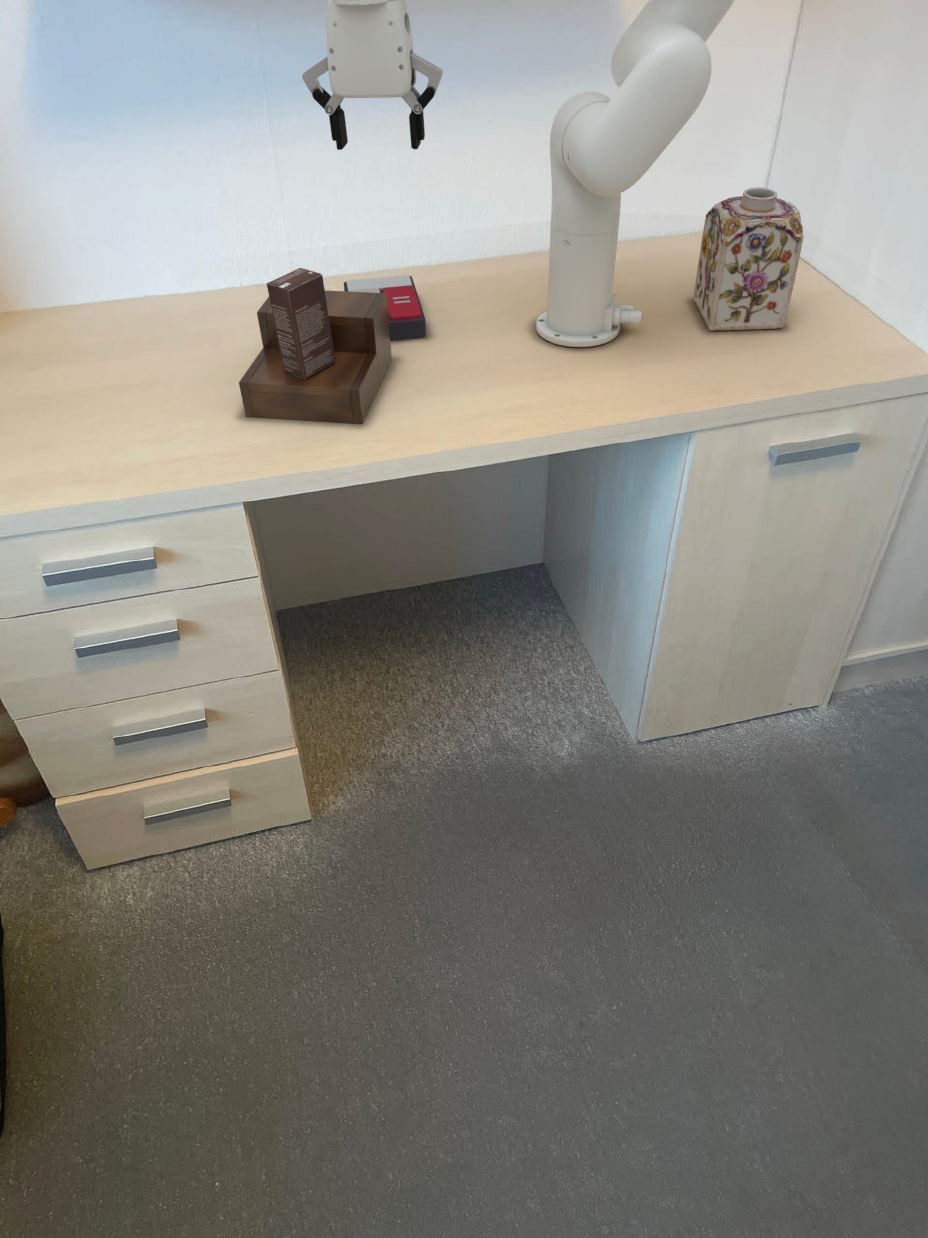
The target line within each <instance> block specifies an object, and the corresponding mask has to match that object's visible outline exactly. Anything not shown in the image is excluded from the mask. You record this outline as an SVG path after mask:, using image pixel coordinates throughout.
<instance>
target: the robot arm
mask: <svg viewBox="0 0 928 1238" xmlns="http://www.w3.org/2000/svg"><path fill="white" fill-rule="evenodd" d="M734 2H735V0H648V1H647V3H646V4H645V5H644V6H643V8H642V9H641V10H640V12H639V13H638V15H636V17H635V19H634V20H633V21H632V22H631V24H630V25H629V26H628V28H627V29H626V30H625V31H624V33H623V34H622V35H621V37H620V38H619V40H618V42H617V44H616V46H615V47H614V49H613V52H612V56H611V60H610V70H611V75H612V79H613V82H614V83H615V85H616V86H617V88H618V89H617V90H616V92H614V94H613V96H612V97H611V98H610V97H609V96H607V95H605V94H603V93H601V92H597V91H583V92H579V93H576V94H574V95H572V96H571V97H569V98H568V99H567V100H566V101H564V102H563V104H561V105H560V107H559V109H558V110H557V112H556V114H555V116H554V118H553V121H552V124H551V129H550V135H549V160H550V161H549V162H550V175H551V211H550V227H549V228H550V229H549V230H550V231H549V252H548V253H549V254H548V275H547V276H548V278H547V302H546V303H547V304H546V310H545V311H543V312H542V313H541V314H539V316H538V317H537V318H536V321H535V329H536V332H537V334H538V335H539V336H540V337H541V338H542V339H544V340H545V341H547V342H549V343H552V344H555V345H559V346H564V347H569V348H570V347H571V348H590V347H595V346H601V345H604V344H607V343H608V342H611V341H613V340H614V339H615V338H616V337H617V336H618V335H619V333H620V329H621V324H628V325H641V323H642V316H643V315H642V314H643V313H642V312H643V311H642V310H634V308H635V305H632V304H631V305H630V304H625V305H622V304H619V303H618V302H615V296H616V295H615V294H614V293H613V292H614V281H615V271H616V270H615V269H616V260H617V250H618V249H617V248H618V236H619V226H620V218H621V204H622V193H624V192H626V191H627V190H628V189H630V188H632V187H633V186H634V185H636V184H637V182H638V181H640V180H641V179H642V177H643V176H644V175H645V174H646V173H647V172H648V171H649V170H650V168H651V167H652V166H653V165H654V163H655V162H656V161H657V159H658V158H659V157H660V156H662V153H664V151H665V150H666V148H667V147H668V146H669V145H670V144H671V142H672V141H673V140H674V139H675V138H676V136H677V135H678V134H679V132H681V130H682V129H683V128H684V126H686V124H687V123H688V122H689V120H690V119H691V118H692V117H693V115H694V114H695V113H696V111H697V110H698V108H699V106H700V105H701V103H702V101H703V99H704V97H705V95H706V92H707V90H708V88H709V85H710V82H711V76H712V57H711V53H710V49H709V48H708V46H707V43H706V42H707V41H708V40H709V38H710V37H711V36H712V35H713V32H714V31H715V30H716V29H717V27H718V25H719V24H720V23H721V22H722V20H723V19H724V17H725V15H727V13H728V11H729V10H730V9H731V7H732V5H733V4H734ZM325 22H326V30H325V31H326V54H327V56H326V57H324V58H323V59H321V60H320V61H318V62H317V63H316V64H314V65H312V66H311V67H310V68H308V69H307V70H305V72H303V73H302V75H301V78H302V80H303V82H304V84H305V85H306V87H307V88H308V90H309V92H310V93H311V97H312V98H313V100H314V101H315V102H316V103H317V104H318V105H319V106H320V107H321V108H322V109H324V112H325V114H326V115H327V116H328V118H329V126H330V134H331V140H332V141H333V142H335V146H336V150H337V151H342V150H343V149H344V148H345V147H346V146H347V144H348V143H349V141H348V140H349V139H348V131H347V123H346V114H345V110H344V109H343V108H342V107H341V104H342V103H343V101H344V99H381V98H383V99H386V98H387V99H388V98H390V99H391V98H401V99H402V100H403V101H404V102H405V104H406V105H407V106H408V107H409V108H410V114H409V115H408V122H409V132H410V133H409V136H410V148H411V149H412V150H419V147H420V146H421V143H422V141H424V140H425V138H426V132H425V117H424V115H425V114H424V110H425V108H426V107H427V106H428V105H429V103H430V102H431V101H432V100H433V98H434V97H435V95H436V94H437V91H438V89H439V86H440V83H441V81H442V79H443V76H444V71H443V69H442V67H439V66H437V65H435V64H434V63H432V62H430V61H428V60H427V59H425V58H423V57H422V56H420V55H417V54H416V53H415V48H414V41H413V33H412V28H411V21H410V16H409V10H408V6H407V2H406V0H327V1H326V21H325ZM326 72H327V73H328V80H329V85H330V89H331V91H332V94H330V93H328V91H327V90H326V89H325V88H324V87H322V85H321V82H320V80H319V77H321V76H322V75H324V74H325V73H326ZM417 72H418V73H420V74H421V75H424V76H425V77H427V79H428V82H427V85H426V88H425V89H424V91H423V92H422V93H420V92H419V91H418V90H417V88H416V87H415V85H416V82H417Z"/></svg>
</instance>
